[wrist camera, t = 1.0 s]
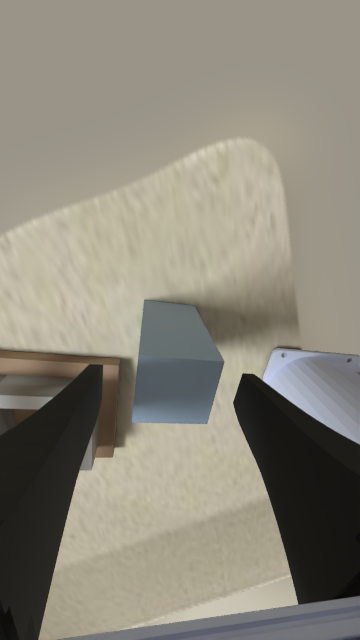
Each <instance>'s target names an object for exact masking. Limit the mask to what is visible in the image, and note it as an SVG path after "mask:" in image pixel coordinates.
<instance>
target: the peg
mask: <svg viewBox="0 0 360 640" xmlns="http://www.w3.org/2000/svg"><path fill="white" fill-rule="evenodd" d="M223 365H224V360H223V358H222V356H221V354H220V352H219V351H218V349H217V347H216V345H215V343H214V341H213V339H212V338H211V336H210V334H209V332H208V330H207V328H206V326H205V325H204V323H203V321H202V319H201V317H200V315H199V314H198V312H197V310H196V308H195V306H193V305H185V304H176V303H167V302H159V301H150V300H144V308H143V317H142V327H141V337H140V347H139V356H138V366H137V376H136V385H135V395H134V405H133V414H132V423H179V424H207V423H208V419H209V415H210V412H211V408H212V405H213V401H214V397H215V394H216V390H217V387H218V383H219V379H220V376H221V372H222V369H223Z"/></svg>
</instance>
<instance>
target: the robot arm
mask: <svg viewBox="0 0 360 640" xmlns="http://www.w3.org/2000/svg"><path fill="white" fill-rule="evenodd" d="M283 353H284V354H283ZM282 354H283V355H282ZM359 366H360V356H359V355H352V354H340V353H329V352H318V351H306V350H295V349H284V348H276V349H274V350H273V352H272V354H271V357H270V360H269V362H268V365H267V368H266V371H265V373H264V376H263V379H262V380H261V379H260V378H258V377H257V376H256V375H254V374H244V373H243V374H242V377H241V380H240V383H239V386H238V390H237V393H236V396H235V399H234V402H233V404H234V408H235V412H236V415H237V418H238V421H239V424H240V426H241V428H242V431H243V433H244V435H245V438H246V440H247V442H248V444H249V447H250V449H251V451H252V453H253V456H254V458H255V460H256V462H257V465H258V467H259V470H260V472H261V475H262V477H263V480H264V483H265V486H266V489H267V492H268V495H269V498H270V501H271V504H272V508H273V511H274V514H275V517H276V521H277V524H278V527H279V531H280V534H281V538H282V542H283V545H284V549H285V552H286V556H287V560H288V564H289V568H290V572H291V576H292V579H293V584H294V587H295V591H296V596H297V600H298V605H294V606H287V607H280V608H273V609H266V610H259V611H252V612H245V613H238V614H231V615H224V616H217V617H210V618H204V619H197V620H190V621H183V622H176V623H169V624H162V625H155V626H148V627H141V628H134V629H127V630H120V631H113V632H106V633H99V634H92V635H85V636H78V637H71V638H64V639H57V640H360V367H359ZM102 386H103V365H99V364H89V365H88V366H87V367H86V368H85V369H84V370H83V371H82V372H81V373H80V374H79V375H78V376H77V377H76V378H75V379H74V380H73V381H71V382H70V383H69V384H68V385H67V386H66V387H65V388H64V389H63V390H62V391H60V392H59V393H58V394H57V395H56V396H55V397H53V398H52V399H51V400H50V401H48V402H47V403H46V404H45V405H44V406H42V407H41V408H40V409H38V410H37V411H36V412H35V413H33V414H32V415H30V416H29V417H28V418H26V419H25V420H23V421H22V422H21V423H19V424H18V425H16V426H15V427H13V428H12V429H10V430H8V431H7V432H5V433H4V434H2V435H0V640H38V638H39V634H40V629H41V625H42V620H43V616H44V612H45V607H46V603H47V598H48V594H49V590H50V585H51V581H52V577H53V572H54V568H55V564H56V560H57V556H58V552H59V547H60V543H61V539H62V535H63V531H64V527H65V523H66V519H67V515H68V511H69V507H70V503H71V499H72V495H73V491H74V487H75V484H76V480H77V476H78V473H79V470H80V467H81V464H82V461H83V458H84V456H85V453H86V450H87V447H88V444H89V441H90V439H91V436H92V433H93V430H94V427H95V424H96V421H97V418H98V414H99V410H100V405H101V401H102Z"/></svg>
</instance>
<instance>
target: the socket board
mask: <svg viewBox="0 0 360 640" xmlns="http://www.w3.org/2000/svg"><path fill="white" fill-rule="evenodd" d="M89 364H99V365H103V386H102V401H101V405H100V410H99V414H98V418H97V421H96V424H95V427H94V430H93V433H92V436H91V439H90V441H89V444H88V447H87V450H86V453H85V456H84V458H83V461H82V464H81V467H80V470H92V467H93V463H94V459H95V457H113V453H114V446H115V431H116V417H117V402H118V387H119V372H120V359H116V358H101V357H87V356H73V355H58V354H44V353H30V352H15V351H1V350H0V435H2V434H4V433H5V432H7V431H8V430H10V429H12V428H13V427H15V426H16V425H18V424H19V423H21V422H22V421H23V420H25V419H26V418H28V417H29V416H30V415H32V414H33V413H35V412H36V411H37V410H38V409H40V408H41V407H42V406H44V405H45V404H46V403H47V402H48V401H50V400H51V399H52V398H53V397H55V396H56V395H57V394H58V393H59V392H60V391H62V390H63V389H64V388H65V387H66V386H67V385H68V384H69V383H70V382H71V381H73V380H74V379H75V378H76V377H77V376H78V375H79V374H80V373H81V372H82V371H83V370H84V369H85V368H86V367H87V366H88V365H89Z"/></svg>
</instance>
